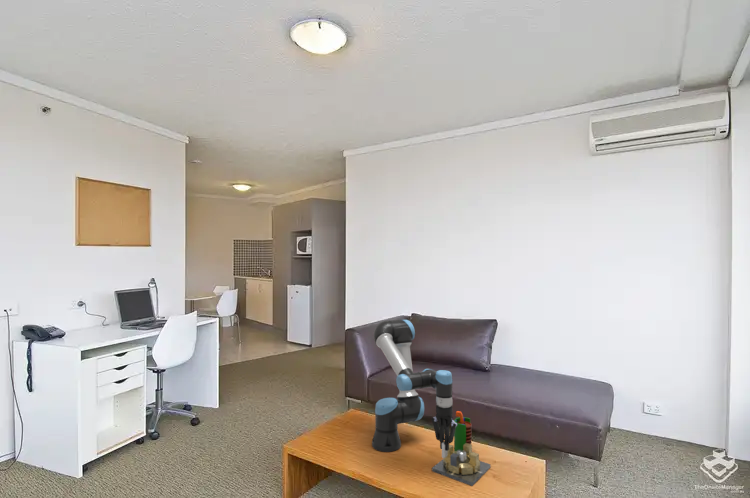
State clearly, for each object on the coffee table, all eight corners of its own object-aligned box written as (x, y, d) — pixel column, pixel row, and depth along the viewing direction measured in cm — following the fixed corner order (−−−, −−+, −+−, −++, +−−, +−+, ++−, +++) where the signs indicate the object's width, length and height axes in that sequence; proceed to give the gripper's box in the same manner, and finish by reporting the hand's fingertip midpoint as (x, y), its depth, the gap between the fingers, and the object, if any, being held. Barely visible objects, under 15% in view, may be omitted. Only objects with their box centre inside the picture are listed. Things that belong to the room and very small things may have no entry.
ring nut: (437, 466, 190) (437, 451, 190) (453, 453, 203) (453, 439, 203) (469, 478, 180) (469, 461, 180) (484, 463, 193) (484, 448, 193)
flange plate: (431, 471, 190) (431, 453, 190) (452, 454, 206) (452, 438, 206) (472, 486, 178) (472, 467, 178) (490, 467, 193) (490, 450, 193)
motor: (472, 457, 203) (472, 417, 203) (453, 456, 204) (453, 415, 205) (471, 448, 213) (471, 409, 213) (454, 446, 214) (454, 408, 215)
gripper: (427, 404, 192) (428, 455, 191) (453, 410, 184) (453, 464, 183) (435, 400, 198) (436, 449, 197) (460, 405, 189) (461, 457, 189)
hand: (444, 456), depth 190 cm, fingers closed
